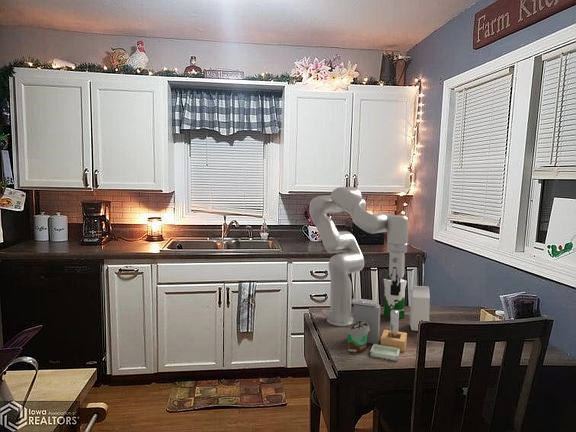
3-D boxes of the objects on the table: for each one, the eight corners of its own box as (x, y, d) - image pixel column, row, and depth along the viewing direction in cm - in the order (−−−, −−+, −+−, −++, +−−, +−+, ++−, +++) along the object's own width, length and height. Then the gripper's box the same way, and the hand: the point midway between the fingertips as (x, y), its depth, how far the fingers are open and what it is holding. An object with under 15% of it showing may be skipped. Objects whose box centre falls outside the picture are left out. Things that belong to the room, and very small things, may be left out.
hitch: (351, 342, 155) (352, 306, 153) (356, 334, 163) (357, 300, 162) (404, 351, 147) (405, 314, 146) (406, 342, 155) (408, 306, 154)
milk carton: (428, 331, 166) (430, 289, 164) (411, 330, 167) (413, 288, 165) (426, 325, 173) (427, 284, 171) (409, 324, 174) (411, 283, 172)
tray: (369, 356, 144) (370, 351, 144) (373, 348, 150) (373, 343, 150) (397, 361, 140) (397, 356, 140) (399, 352, 146) (399, 348, 146)
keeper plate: (351, 303, 156) (351, 301, 156) (353, 300, 160) (353, 297, 160) (376, 306, 152) (376, 304, 152) (377, 303, 156) (378, 300, 156)
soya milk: (393, 311, 190) (395, 272, 188) (407, 317, 182) (409, 276, 180) (380, 315, 186) (381, 274, 184) (394, 321, 178) (395, 279, 176)
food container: (362, 358, 142) (362, 332, 141) (346, 354, 145) (347, 328, 144) (373, 345, 152) (374, 321, 151) (358, 342, 156) (359, 318, 155)
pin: (389, 346, 152) (390, 312, 151) (390, 342, 155) (391, 309, 153) (397, 347, 151) (398, 313, 149) (398, 344, 154) (399, 310, 152)
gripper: (404, 252, 140) (403, 301, 142) (409, 244, 155) (407, 288, 157) (383, 250, 142) (382, 298, 144) (390, 243, 158) (388, 286, 160)
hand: (395, 293), depth 151 cm, fingers open, 4 cm apart
